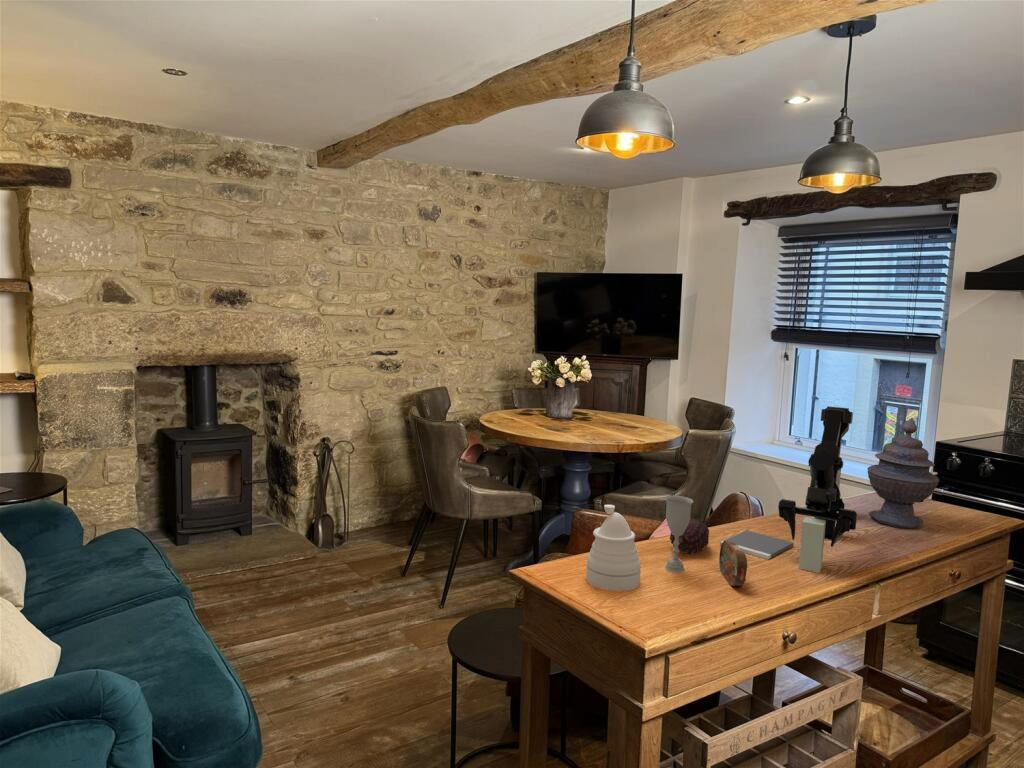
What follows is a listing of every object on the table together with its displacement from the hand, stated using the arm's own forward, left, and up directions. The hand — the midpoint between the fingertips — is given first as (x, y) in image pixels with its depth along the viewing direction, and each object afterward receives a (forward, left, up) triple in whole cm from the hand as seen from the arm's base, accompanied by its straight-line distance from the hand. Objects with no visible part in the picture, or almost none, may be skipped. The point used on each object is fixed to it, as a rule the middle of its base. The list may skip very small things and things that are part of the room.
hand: (812, 542), depth 181 cm
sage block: (-1, 0, -7) cm, 7 cm away
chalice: (+27, -23, -7) cm, 36 cm away
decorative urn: (-63, +3, -7) cm, 63 cm away
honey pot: (+45, -29, -7) cm, 54 cm away
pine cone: (+12, -28, -7) cm, 31 cm away
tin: (+22, -10, -7) cm, 25 cm away
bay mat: (-6, -17, -7) cm, 20 cm away
